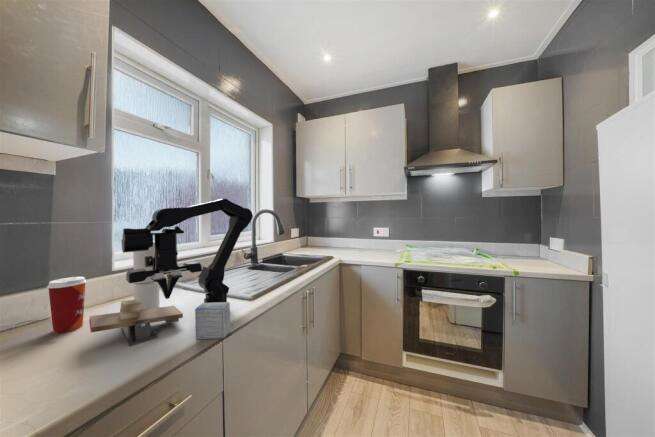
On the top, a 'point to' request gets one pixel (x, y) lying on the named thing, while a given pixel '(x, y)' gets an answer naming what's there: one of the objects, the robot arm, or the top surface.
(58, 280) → the coffee cup
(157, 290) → the cylindrical container
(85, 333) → the top surface
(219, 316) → the medicine box
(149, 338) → the beam stand
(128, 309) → the maple block
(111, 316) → the beam
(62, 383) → the top surface
